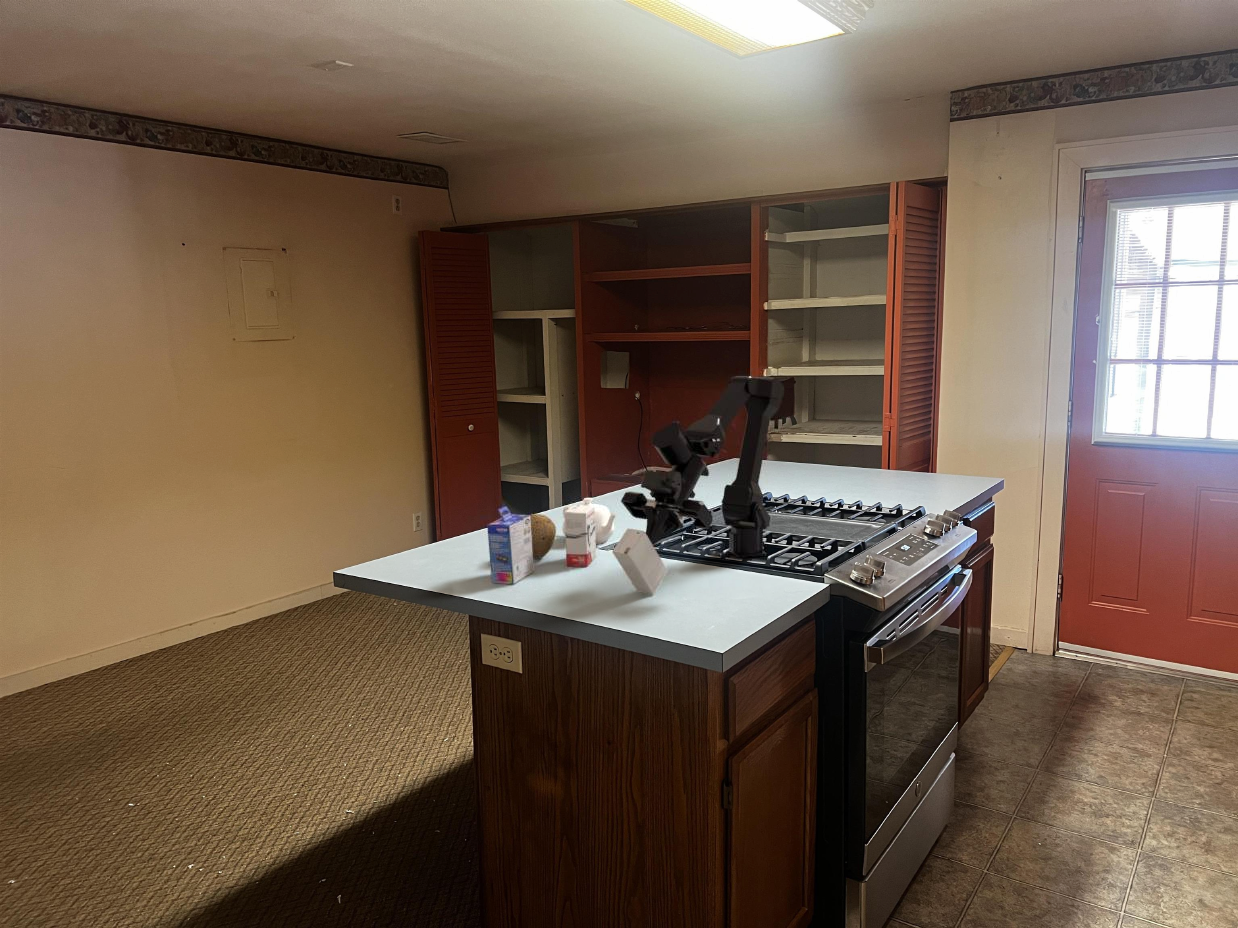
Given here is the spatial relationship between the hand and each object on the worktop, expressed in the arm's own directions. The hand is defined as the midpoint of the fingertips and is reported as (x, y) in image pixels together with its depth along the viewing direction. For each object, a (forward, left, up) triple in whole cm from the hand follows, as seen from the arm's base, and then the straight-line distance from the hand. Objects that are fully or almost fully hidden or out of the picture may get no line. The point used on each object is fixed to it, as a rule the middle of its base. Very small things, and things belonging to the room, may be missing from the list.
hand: (647, 545), depth 165 cm
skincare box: (-1, -1, -8) cm, 8 cm away
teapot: (+1, -44, -9) cm, 45 cm away
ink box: (+7, -26, -9) cm, 29 cm away
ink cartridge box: (+23, -19, -9) cm, 31 cm away
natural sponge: (+16, -32, -9) cm, 37 cm away
